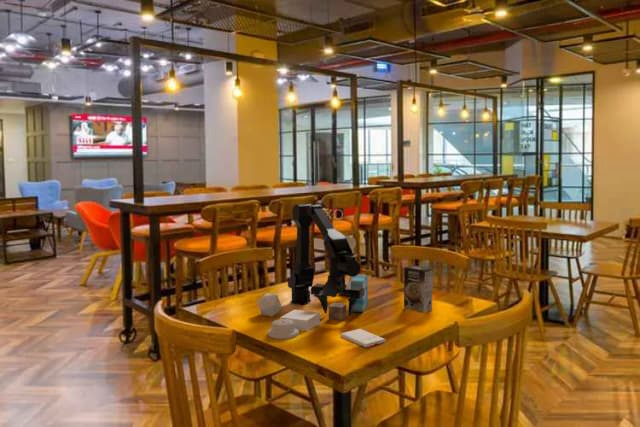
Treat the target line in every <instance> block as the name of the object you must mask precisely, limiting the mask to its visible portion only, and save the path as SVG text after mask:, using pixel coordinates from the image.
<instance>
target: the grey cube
mask: <svg viewBox="0 0 640 427" xmlns="http://www.w3.org/2000/svg"><path fill="white" fill-rule="evenodd" d="M347 311H348V310H347V303H341V302H333V303H331V304H329V305H327V312H328V313H327V314H328V321H336V322H337V321H339V322H343V321H344V320H345V319H346V318H347V317H348V314H347Z"/></svg>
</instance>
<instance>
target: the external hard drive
mask: <svg viewBox="0 0 640 427" xmlns="http://www.w3.org/2000/svg"><path fill="white" fill-rule="evenodd" d="M340 337H341V338H342V339H345V340H347V341H350V342H352V343H355V344H356V345H360V346H362V347H364V348H367V347H372V346H374V345H375V346H376V345H379V344H380V345H381V344H384V343H386V342H387V339H386V338H383V337H381V336H378V335H376V334H374V333H371V332H368V331H367V330H364V329H361V328H358V329H354V330H350V331H346V332H342V333H341V334H340Z"/></svg>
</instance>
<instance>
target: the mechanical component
mask: <svg viewBox="0 0 640 427" xmlns="http://www.w3.org/2000/svg"><path fill="white" fill-rule="evenodd" d="M299 331H300V330H298V329H297V328H295V323H294V321H292V320H290V319H289V320H288V319H281V318H280V319H276V320H274V321H272V323H271V328H270V329H268V331H267V333H268V334H267V335H268V336H269V337H270V338H272V339H278V340H288V339H294V338H296V337H298V336H299V333H300V332H299Z"/></svg>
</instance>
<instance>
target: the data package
mask: <svg viewBox="0 0 640 427" xmlns="http://www.w3.org/2000/svg"><path fill="white" fill-rule="evenodd" d="M368 279H369V278H368V275H365V274H364V275H362V274H358V275H357V276H355V277H354V278H353V279H352V280H351V288H353V287H360V288H363V289H364V296H363V297H361V298H360V299H358V300H357V301H356V303H355V305H354V308H353V310H352V313H353V312H355V313H364V311H365V310H366V308H367V306H368V301H369V300H368V299H369V298H368V296H369V295H368V293H369V292H368V290H369V289H368V285H369V284H368V282H369V281H368Z"/></svg>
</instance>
